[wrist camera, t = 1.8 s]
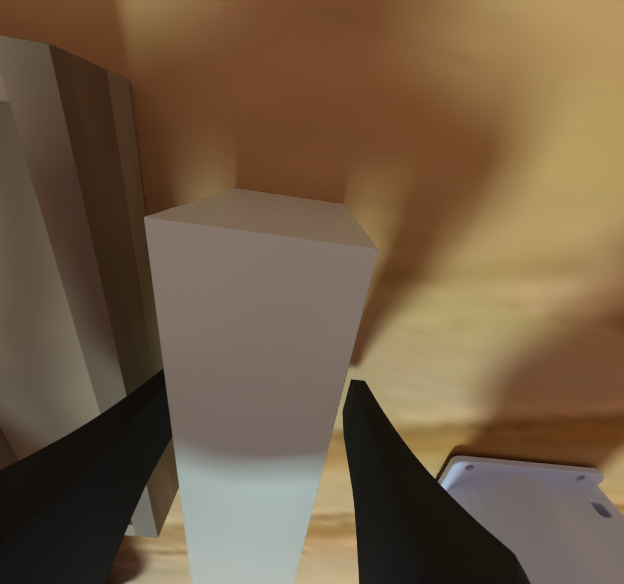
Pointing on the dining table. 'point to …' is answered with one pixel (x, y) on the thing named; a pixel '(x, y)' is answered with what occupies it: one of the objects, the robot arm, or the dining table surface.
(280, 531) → the white rectangular block
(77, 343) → the grey brown tray
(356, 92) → the dining table surface
